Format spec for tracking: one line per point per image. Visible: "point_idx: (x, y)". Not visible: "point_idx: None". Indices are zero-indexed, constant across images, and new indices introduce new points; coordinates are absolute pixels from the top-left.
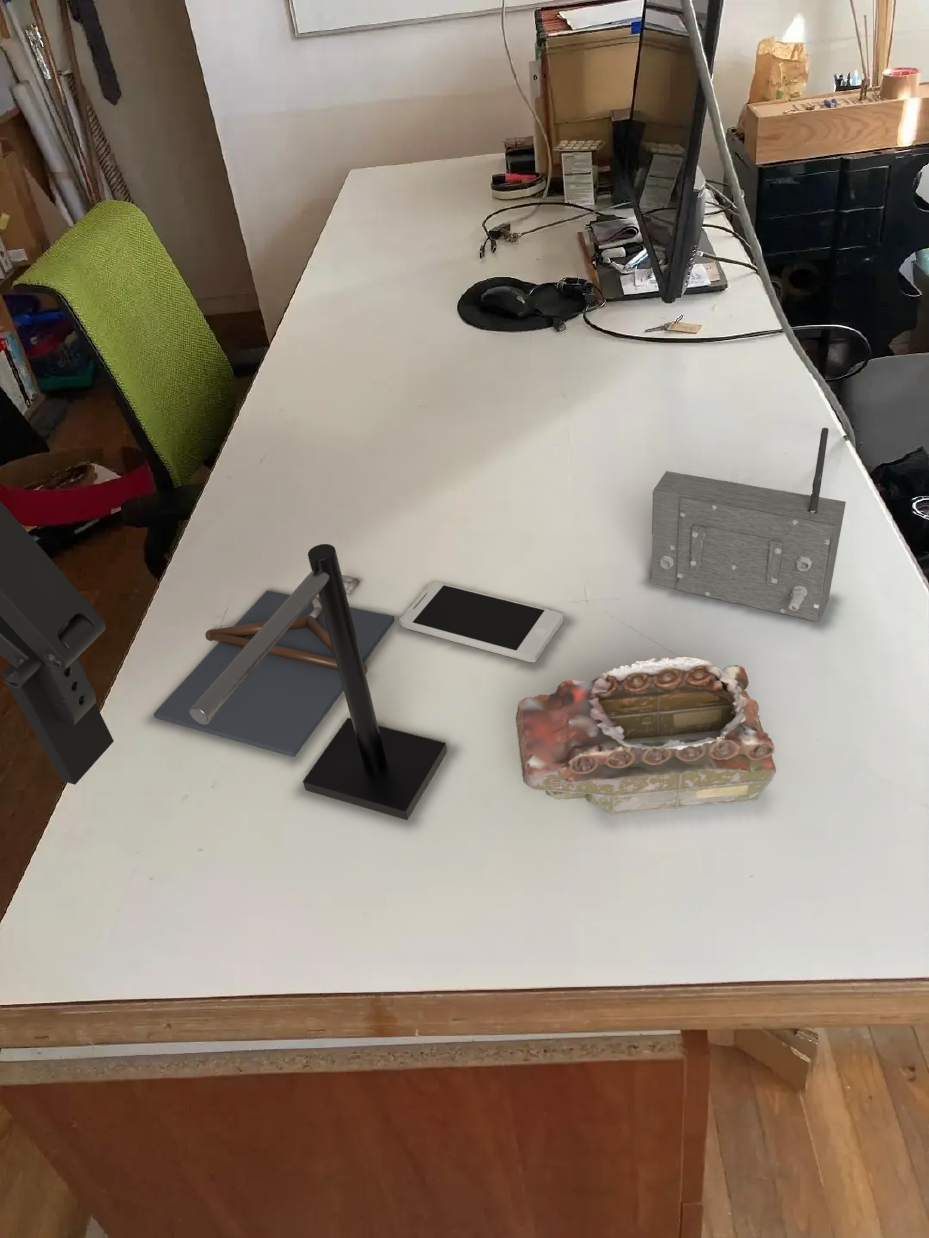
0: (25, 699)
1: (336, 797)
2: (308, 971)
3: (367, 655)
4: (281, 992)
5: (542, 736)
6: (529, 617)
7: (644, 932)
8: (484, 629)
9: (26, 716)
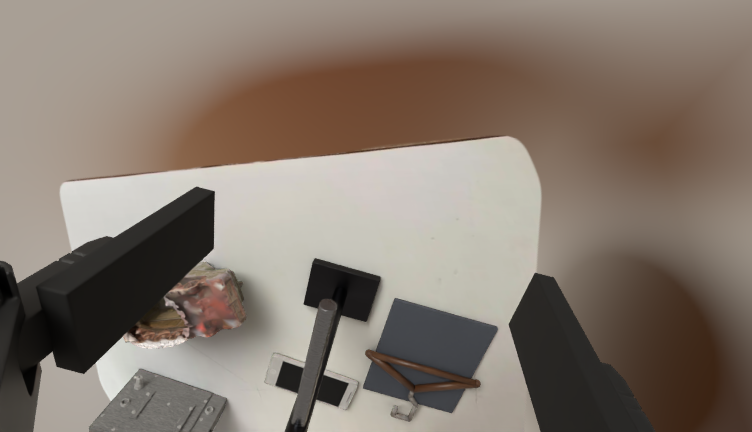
0: (88, 257)
1: (358, 271)
2: (340, 167)
3: (371, 363)
4: (351, 154)
5: (219, 302)
6: (282, 381)
7: (176, 198)
8: None
9: (138, 241)
